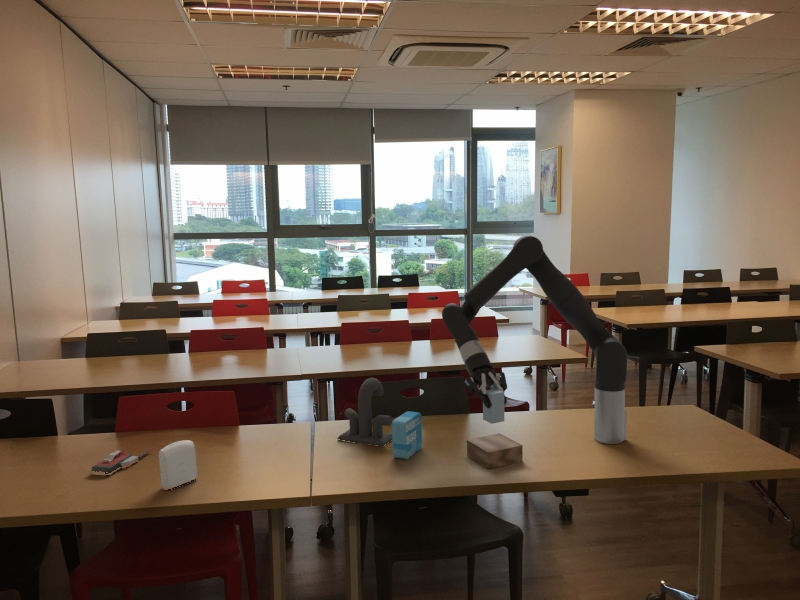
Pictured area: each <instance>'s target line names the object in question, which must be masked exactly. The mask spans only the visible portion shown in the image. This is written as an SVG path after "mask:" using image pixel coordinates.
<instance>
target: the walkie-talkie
mask: <svg viewBox="0 0 800 600" xmlns="http://www.w3.org/2000/svg"><path fill="white" fill-rule="evenodd" d="M150 449H151V448H147V449H146V450H144V451H143V452H141V453H140V454H138V455H132V453H128V452H126V453H125V452H124V450H115V451H113V452H112V453H109V454H108V456H107V457H106V458H104V459H102V460H101V461H99V462H98V463H96V464H94V465H92V466H91V472H92V471H95V472H96V471H97V472H99V471H101V472H105V474H108V473H111V472H112V471H114V470H116V469H117V468H119V467H122V466H124V465H128V464H131V463H132V462H134V461H135V460H137V459H138V458H139V457H140V456H141V455H143V454H144V453H146V452H147V451H149V450H150ZM150 451H151V450H150ZM150 451H149V452H150ZM147 453H148V452H147ZM147 453H146V454H147ZM139 459H140V458H139ZM139 459H138V460H139ZM106 472H108V473H106Z"/></svg>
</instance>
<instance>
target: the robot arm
mask: <svg viewBox="0 0 800 600" xmlns="http://www.w3.org/2000/svg"><path fill="white" fill-rule="evenodd" d="M525 269H526V270H527V271H528V273H529V274H531V275H532V276H533V278H534V279H535V280H536V281H537V284H538V285H539V286H540V288H541V290H542V291H543V293H544V294H545V296H546V297H547V299H548V300H549V302H550V304H552V306H553V307H554V308H555V310H556V311H557V312H558V313H559V315H561V317H562V318H563V319H564V320H565V321H566V322H567V323H568V324H569V325H570V326H572V327H573V328H574V330H576V331H577V332H578V334H580V335H581V336H582V339H584V341H586V343H587V345H588V346H589V348H590V349H591V352H592V353H593V354H594V355H593V356H594V357H595V359H596V360H595V361H596V365H595V367H596V369H595V379H594V409H593V410H594V411H593V412H594V413H593V416H594V421H593V422H594V425H593V429H594V430H593V433H594V434H593V439H594V440H595V441H596V442H598V443H601V444H607V445H618V444H622V443H623V442H624V441H625V440H627V428H628V427H627V424H628V418H627V417H628V411H627V410H625V405H626V403H625V401H626V396H625V395H626V382H627V377H628V375H627V374H628V373H627V372H628V353H627V350H626V347H625V346H624V344H623V343H622V342H621V341H620V340H619V339H617V338H616V337H615V336H614V335H613V334H612V332H610V331H609V330H608V329H607V327H605V325H603V323H602V322H601V321H600V320H599V318H598V316H597V315H596V313H595V311H594V310H593V308H592V307H591V305H590V303H589V302H588V300H587V299H586V297H585V296H584V295H583V293H581V291H580V290H579V288H577V286H576V285H575V284H574V283H573V282H572V281H571V280H570V279H569V278H568V277H567V276H566V275H565V274H564V273H563V272H561V271H560V270H559V269H558V268H557V267H556V266H555V265H554V264H553V262H552V261H551V260H550V258H549V256H548V255H547V254H546V252H545V251H544V246H543V244H542V242H541V240H540V239H539V238H537V237H536V236H533V235H523V236H520V237H518V238H517V239H516V240H515V242H514V243H513V245H512V248H511V250H510V251H509V252H508V254H507V255H506V257H504V258H503V260H501V261H500V262H499V264H497V265H496V266H495V267H494V268H493V269H491V270H490V271H489V272H488V273H486V274H485V275H484V276H483V277H481V278H480V279H479V280H478V281H476V283H475V284H473V285H472V286H471V287H470V288H469V289H468V290H467V291H466V292H465V293H464V295H463V298H464V300H465V301H464V302H463V303H462V305H459V304H457V303H455V302H454V303H453V302H451V303H448V304H446V305H445V306H444V307H443V309H442V311H441V317H442V321H443V323H444V324H445V326H446V329H447V330H448V331H449V333H450V334H451V336H452V337H453V339H454V341H455V344H456V346H457V349H458V351H459V354H460V356H461V359H462V361H463V364H464V366H465V367H466V370H467V372H468V374H469V376H470V377H466V379H465V381H464V382H463V383H464V385H465V386H466V387H467V389H468V391H469V392H470V393H471V394H472V396H473V397H474V398H477V397H478V398H480V399H481V401H482V404H483V403H484V405H485V406H486V407H487V408H490V407H491V406H492V403H491V401H490V399H489V397H488V395H487V394H486V390H487V388H490V389H498V390H500V391H503V392H504V393H505V392H506V390H507V389H508V383H507V379H506V374H505V372H503V371H502V372H500V373H497V372H496V371H495V370H494V369H493V365H492V362H491V360H490V359H489V356H488V354H487V352H486V350H485V348H484V346H483V345H482V343H481V342H480V340H479V339H480V338H479V337H478V335H477V333H476V331H475V330H474V329H473V327H472V326H471V325H470V324H471V323H472V321H474V319H475V318H476V316H477V314H478V313H479V312H480V310H481V308H483V307H484V306H485V305H486V304H487V303H488V302H489V301H491V299H492V298H494V297H495V296H496V295H497V294H498V293H499V291H501V290H502V289H503V288H504V286H505V285H507V284H508V283H509V282H510V281H511V280H512V279H514V278H515V277H516V276H517V275H518V274H520V273H521V272H522V271H524V270H525ZM507 402H508V399H507V397H506V395H505V394H504V406H505V405H506V404H507Z"/></svg>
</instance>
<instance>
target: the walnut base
mask: <svg viewBox="0 0 800 600" xmlns="http://www.w3.org/2000/svg"><path fill="white" fill-rule="evenodd" d="M466 455H467V457H469V458H471V460H474V461H475V462H477V463H478V464H480V465H482V466H483V467H484V468H486V469H488V470H491V469H494V468H500V467H504V466H508V465H511V464H516V463H521V462H523V458H524V457H523V455H524V454H523V444H521V443H519V442H518V441H516V440H513V439H512V438H510V437H507V436H505V435H503V434H502V433H500V432H499V433H495V434H494V433H493V434H488V435H485V436H480V437H474V438H469V439H466Z"/></svg>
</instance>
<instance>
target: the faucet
mask: <svg viewBox="0 0 800 600" xmlns="http://www.w3.org/2000/svg"><path fill="white" fill-rule="evenodd" d="M384 393H385V392H384V386H383V384H382V382H381V381H380V380H379V379H377V378H375V377H369V378H366V379H365V380H364V381H363V383H362V384H361V386H360V388H359V391H358V395H357V410H358V411H357V412H356V410H354V409H352V408H351V407H348V408H346V409H345V410H344V416H345V418H346V419H348V420H349V422H348V423H349V429H348V430H346V431H345V432H343V433H341V434H340V435H339V436H338V437H337V440H338V439H340V440H345V441H350V442H355V443H354V444H357V443H362V444H361V445H364V444H371V445H378V446H384V445H385V444H387V443H388V442H390V441H391V440H392V433H386V432H383V426H386V427H387V426H389V427H390V426H392V423H393V417H392V416H391V415H385V414H379V415H376V416H375V417H374V418H373V417H372V415H373V414H372V397H373V396H374V397H380V396H383V395H384ZM350 442H349V443H350ZM391 442H392V441H391ZM391 442H390V443H391ZM388 444H389V443H388ZM388 444H387V445H388ZM371 445H370V446H371ZM378 446H377V447H378ZM384 447H385V446H384Z"/></svg>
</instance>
